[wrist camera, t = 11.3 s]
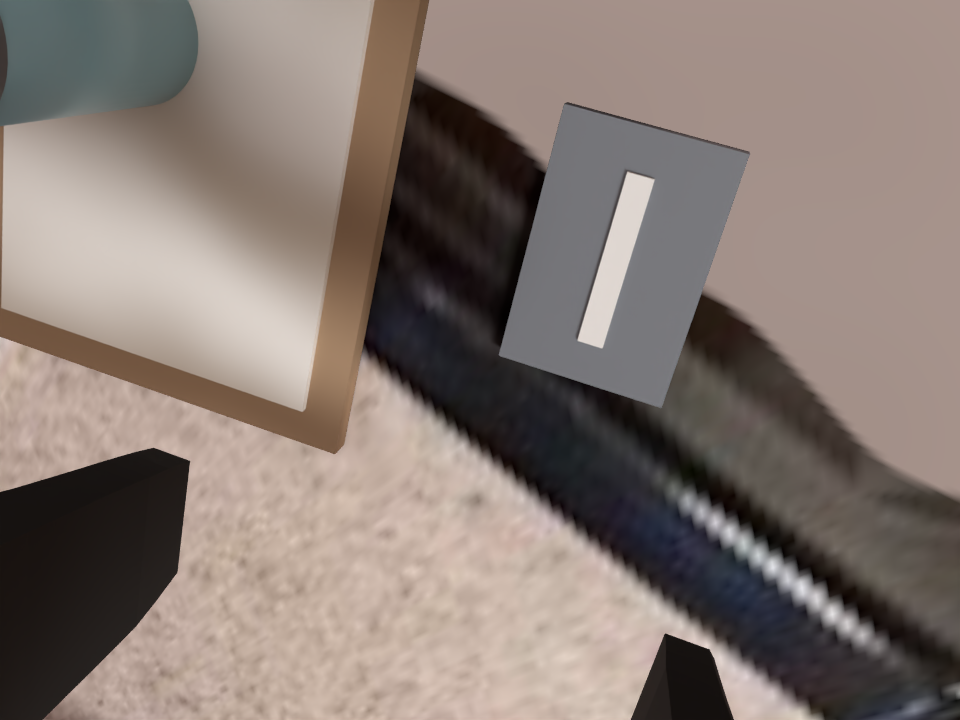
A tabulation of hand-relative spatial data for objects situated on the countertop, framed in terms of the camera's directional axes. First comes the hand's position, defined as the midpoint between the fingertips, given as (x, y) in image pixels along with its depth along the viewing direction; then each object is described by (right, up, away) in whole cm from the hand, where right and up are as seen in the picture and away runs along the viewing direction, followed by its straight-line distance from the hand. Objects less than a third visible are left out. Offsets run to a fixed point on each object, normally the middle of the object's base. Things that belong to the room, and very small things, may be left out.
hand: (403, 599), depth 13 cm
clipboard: (-6, +9, +9) cm, 14 cm away
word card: (+4, +6, +8) cm, 10 cm away
